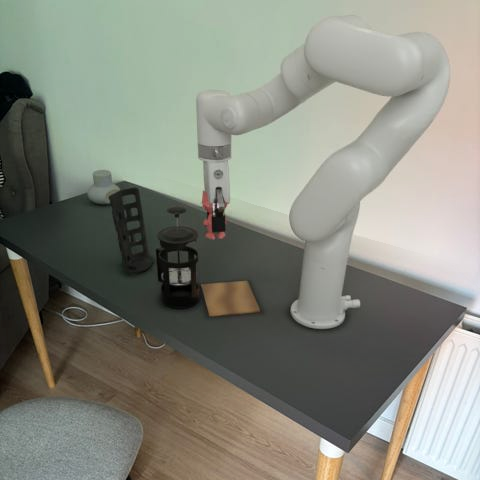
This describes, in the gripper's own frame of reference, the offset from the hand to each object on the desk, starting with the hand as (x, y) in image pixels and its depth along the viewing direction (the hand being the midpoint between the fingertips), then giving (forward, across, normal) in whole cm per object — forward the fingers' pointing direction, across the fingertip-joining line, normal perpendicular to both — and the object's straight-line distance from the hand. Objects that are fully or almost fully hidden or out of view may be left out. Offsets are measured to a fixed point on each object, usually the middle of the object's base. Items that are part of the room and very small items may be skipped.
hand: (216, 224), depth 124 cm
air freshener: (+13, +56, +29) cm, 64 cm away
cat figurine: (+3, 0, 0) cm, 3 cm away
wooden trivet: (+15, -11, -1) cm, 18 cm away
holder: (+14, +9, +21) cm, 27 cm away
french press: (+15, -9, +11) cm, 20 cm away
